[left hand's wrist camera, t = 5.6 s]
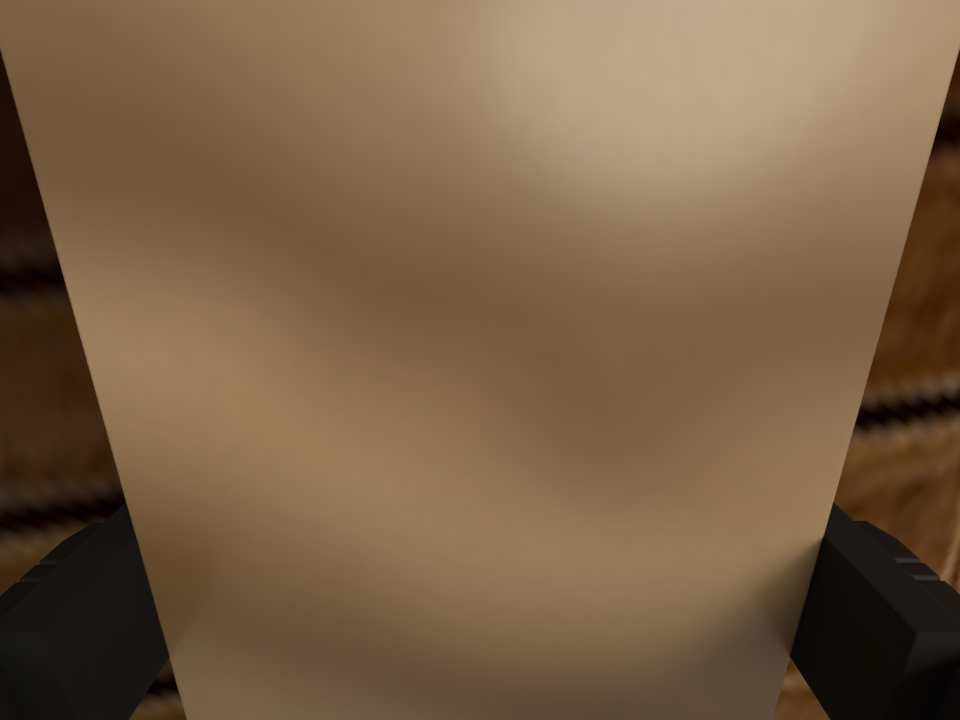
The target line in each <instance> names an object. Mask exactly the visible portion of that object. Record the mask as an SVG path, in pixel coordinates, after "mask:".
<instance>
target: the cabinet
mask: <svg viewBox="0 0 960 720" xmlns="http://www.w3.org/2000/svg"><path fill="white" fill-rule="evenodd" d="M959 48H960V0H0V50H1V54H2V57H3V61H4V65H5V68H6V72H7V75H8V79H9V83H10V86H11V90H12V93H13V97H14V101H15V104H16V108H17V111H18V115H19V118H20V122H21V126H22V129H23V133H24V136H25V140H26V144H27V147H28V151H29V154H30V158H31V162H32V165H33V169H34V172H35V176H36V180H37V183H38V187H39V190H40V194H41V198H42V201H43V205H44V208H45V212H46V216H47V219H48V223H49V226H50V230H51V234H52V237H53V241H54V244H55V248H56V252H57V255H58V259H59V262H60V266H61V270H62V273H63V277H64V280H65V284H66V288H67V291H68V295H69V298H70V302H71V305H72V309H73V313H74V316H75V320H76V323H77V327H78V331H79V334H80V338H81V341H82V345H83V349H84V352H85V356H86V359H87V363H88V367H89V370H90V374H91V377H92V381H93V385H94V388H95V392H96V395H97V399H98V403H99V406H100V410H101V413H102V417H103V421H104V424H105V428H106V431H107V435H108V439H109V442H110V446H111V449H112V453H113V457H114V460H115V464H116V467H117V471H118V475H119V478H120V482H121V485H122V489H123V492H124V496H125V500H126V503H127V507H128V510H129V514H130V518H131V521H132V525H133V528H134V532H135V536H136V539H137V543H138V546H139V550H140V554H141V557H142V561H143V564H144V568H145V572H146V575H147V579H148V582H149V586H150V590H151V593H152V597H153V600H154V604H155V608H156V611H157V615H158V618H159V622H160V626H161V629H162V633H163V636H164V640H165V644H166V647H167V651H168V654H169V658H170V662H171V665H172V669H173V672H174V676H175V680H176V683H177V687H178V690H179V694H180V697H181V701H182V705H183V708H184V712H185V715H186V719H187V720H773V716H774V712H775V709H776V705H777V702H778V698H779V695H780V691H781V687H782V684H783V680H784V677H785V673H786V669H787V666H788V662H789V659H790V655H791V651H792V648H793V644H794V641H795V637H796V634H797V630H798V626H799V623H800V619H801V616H802V612H803V608H804V605H805V601H806V598H807V594H808V590H809V587H810V583H811V580H812V576H813V572H814V569H815V565H816V562H817V558H818V555H819V551H820V547H821V544H822V540H823V537H824V533H825V529H826V526H827V522H828V519H829V515H830V511H831V508H832V504H833V501H834V497H835V494H836V490H837V486H838V483H839V479H840V476H841V472H842V468H843V465H844V461H845V458H846V454H847V450H848V447H849V443H850V440H851V436H852V432H853V429H854V425H855V422H856V418H857V415H858V411H859V407H860V404H861V400H862V397H863V393H864V389H865V386H866V382H867V379H868V375H869V371H870V368H871V364H872V361H873V357H874V353H875V350H876V346H877V343H878V339H879V336H880V332H881V328H882V325H883V321H884V318H885V314H886V310H887V307H888V303H889V300H890V296H891V292H892V289H893V285H894V282H895V278H896V275H897V271H898V267H899V264H900V260H901V257H902V253H903V249H904V246H905V242H906V239H907V235H908V231H909V228H910V224H911V221H912V217H913V213H914V210H915V206H916V203H917V199H918V196H919V192H920V188H921V185H922V181H923V178H924V174H925V170H926V167H927V163H928V160H929V156H930V152H931V149H932V145H933V142H934V138H935V135H936V131H937V127H938V124H939V120H940V117H941V113H942V109H943V106H944V102H945V99H946V95H947V91H948V88H949V84H950V81H951V77H952V73H953V70H954V66H955V63H956V59H957V56H958V52H959Z"/></svg>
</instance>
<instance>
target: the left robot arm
mask: <svg viewBox="0 0 960 720" xmlns="http://www.w3.org/2000/svg"><path fill="white" fill-rule="evenodd" d="M790 657H791V659H792V660H793V662H794V663H795V665H796V667H797V668H798V670H799V671H800V673H801V674H802V676H803V678H804V679H805V681H806V682H807V684H808V685H809V687H810V688H811V690H812V692H813V693H814V695H815V696H816V698H817V699H818V701H819V703H820V704H821V706H822V707H823V709H824V710H825V712H826V714H827V715H828V717H829V718H830V720H960V594H959V593H958V592H956V591H955V590H954V589H953V588H952V587H951V586H950V585H948V584H947V583H946V582H945V581H941V580H940V578H939V576H938V575H937V574H936V573H935V572H934V571H933V570H931V569H930V568H929V567H928V566H927V565H926V564H925V563H920V559H919V558H918V557H917V556H916V555H914V554H913V553H912V552H911V551H910V550H909V549H908V548H906V547H905V546H904V545H903V544H902V543H901V542H900V541H898V540H897V539H896V538H894V537H893V536H891V535H889V534H887V533H886V532H884V531H882V530H881V529H879V528H877V527H875V526H874V525H872V524H870V523H868V522H867V521H853V520H852V519H851V518H850V517H849V516H848V515H846V514H845V513H844V512H843V511H842V510H841V509H840V508H839V507H838V506H837V505H836V504H835V503H834V502H833V504H832V508H831V511H830V515H829V519H828V522H827V526H826V529H825V533H824V537H823V540H822V544H821V547H820V551H819V555H818V558H817V562H816V565H815V569H814V572H813V576H812V580H811V583H810V587H809V590H808V594H807V598H806V601H805V605H804V608H803V612H802V616H801V619H800V623H799V626H798V630H797V634H796V637H795V641H794V644H793V648H792V651H791V655H790ZM168 658H169V654H168V651H167V647H166V644H165V640H164V636H163V633H162V629H161V626H160V622H159V618H158V615H157V611H156V608H155V604H154V600H153V597H152V593H151V590H150V586H149V582H148V579H147V575H146V572H145V568H144V564H143V561H142V557H141V554H140V550H139V546H138V543H137V539H136V536H135V532H134V528H133V525H132V521H131V518H130V514H129V510H128V507H127V503H125V504H124V505H123V506H121V507H120V508H119V509H118V510H117V511H116V512H115V513H114V514H113V515H112V516H111V517H110V518H109V519H108V520H106V521H105V522H104V523H93V524H91V525H89V526H88V527H86V528H84V529H83V530H81V531H79V532H77V533H76V534H74V535H72V536H70V537H69V538H67V539H65V540H64V541H62V542H61V543H60V544H59V545H58V546H57V547H56V548H55V549H53V550H52V551H51V552H50V553H49V554H48V555H47V556H45V557H44V558H43V559H42V560H41V561H40V565H35V566H34V567H33V568H32V569H31V570H30V571H29V572H27V573H26V574H25V575H24V576H23V577H22V578H21V579H20V582H19V583H15V584H14V585H13V586H12V587H10V588H9V589H8V590H7V591H6V592H5V593H4V594H3V595H1V596H0V720H129V719H130V717H131V716H132V714H133V713H134V711H135V709H136V708H137V706H138V705H139V703H140V702H141V700H142V699H143V697H144V695H145V694H146V692H147V691H148V689H149V688H150V686H151V684H152V683H153V681H154V680H155V678H156V677H157V675H158V674H159V672H160V670H161V669H162V667H163V666H164V664H165V663H166V661H167V659H168Z"/></svg>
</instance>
